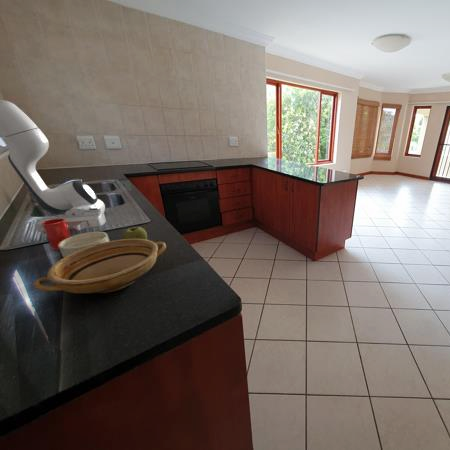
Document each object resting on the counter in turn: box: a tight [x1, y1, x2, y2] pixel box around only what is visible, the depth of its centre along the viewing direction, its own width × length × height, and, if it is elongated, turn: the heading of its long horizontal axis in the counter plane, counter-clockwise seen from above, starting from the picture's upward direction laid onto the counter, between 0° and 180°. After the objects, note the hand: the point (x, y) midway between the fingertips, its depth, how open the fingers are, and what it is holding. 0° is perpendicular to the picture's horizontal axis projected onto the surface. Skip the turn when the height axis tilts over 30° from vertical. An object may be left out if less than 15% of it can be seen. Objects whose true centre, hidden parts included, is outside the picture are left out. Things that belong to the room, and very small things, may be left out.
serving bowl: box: [58, 231, 111, 258], centre depth 84 cm, size 13×13×4 cm
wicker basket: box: [33, 238, 167, 295], centre depth 67 cm, size 30×24×8 cm
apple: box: [121, 226, 148, 240], centre depth 87 cm, size 8×8×7 cm
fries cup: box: [42, 218, 73, 251], centre depth 86 cm, size 6×6×10 cm
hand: (60, 230), depth 87 cm, fingers open, 8 cm apart
